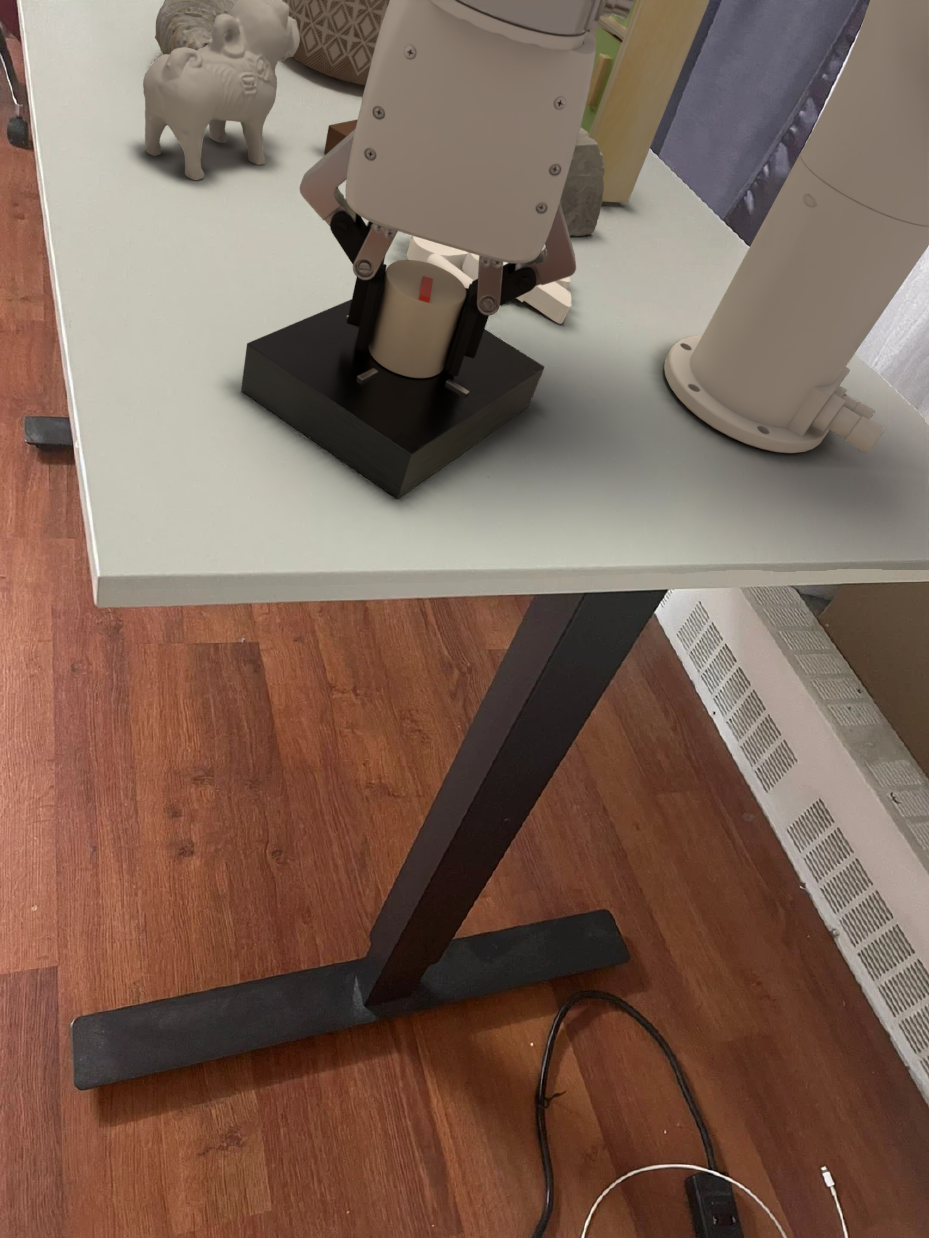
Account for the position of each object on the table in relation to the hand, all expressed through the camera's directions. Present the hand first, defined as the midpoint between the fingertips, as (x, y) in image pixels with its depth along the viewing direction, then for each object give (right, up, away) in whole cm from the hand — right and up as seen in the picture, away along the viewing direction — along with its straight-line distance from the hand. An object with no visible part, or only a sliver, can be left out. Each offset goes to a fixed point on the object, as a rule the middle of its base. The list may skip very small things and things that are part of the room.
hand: (408, 347), depth 50 cm
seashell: (-20, +31, +26) cm, 45 cm away
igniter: (-2, +22, +25) cm, 33 cm away
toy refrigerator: (+13, +26, +34) cm, 44 cm away
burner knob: (0, 0, 0) cm, 1 cm away
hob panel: (-1, -2, +3) cm, 4 cm away
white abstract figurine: (+5, +10, +16) cm, 19 cm away
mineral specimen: (+10, +18, +26) cm, 33 cm away
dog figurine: (-16, +20, +17) cm, 30 cm away
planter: (-9, +38, +37) cm, 53 cm away
